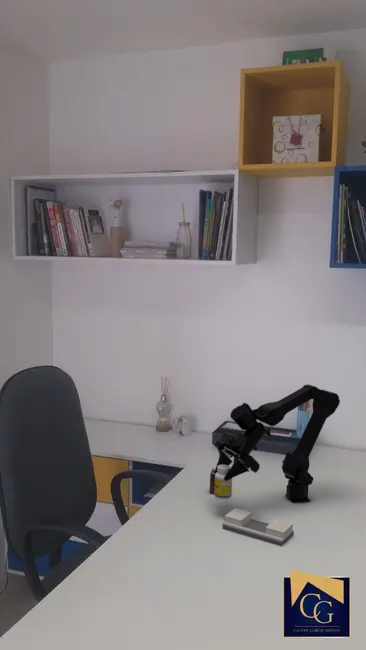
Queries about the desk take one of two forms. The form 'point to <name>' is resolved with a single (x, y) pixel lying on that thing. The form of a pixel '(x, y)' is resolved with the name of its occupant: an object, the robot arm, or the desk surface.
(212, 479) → the box
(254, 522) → the rail plate
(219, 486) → the supplement bottle
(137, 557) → the desk surface
